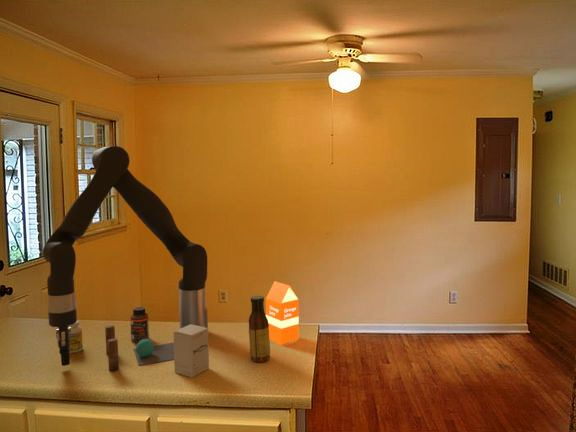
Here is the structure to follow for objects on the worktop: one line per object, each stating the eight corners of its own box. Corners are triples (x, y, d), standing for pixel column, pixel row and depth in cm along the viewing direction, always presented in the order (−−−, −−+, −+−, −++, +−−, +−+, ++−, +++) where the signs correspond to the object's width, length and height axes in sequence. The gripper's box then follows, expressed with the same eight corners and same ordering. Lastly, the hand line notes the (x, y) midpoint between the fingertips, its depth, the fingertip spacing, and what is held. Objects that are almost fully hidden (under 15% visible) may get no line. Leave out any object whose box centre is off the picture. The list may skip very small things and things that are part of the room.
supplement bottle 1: (81, 345, 155) (79, 318, 154) (84, 350, 151) (82, 322, 150) (63, 349, 152) (62, 321, 151) (66, 354, 148) (64, 325, 147)
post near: (118, 366, 138) (117, 338, 138) (119, 370, 136) (117, 341, 135) (108, 368, 137) (107, 339, 136) (109, 372, 135) (107, 342, 134)
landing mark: (176, 342, 157) (176, 341, 157) (185, 357, 145) (184, 357, 145) (133, 349, 152) (133, 348, 152) (138, 365, 139) (138, 365, 139)
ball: (131, 343, 147) (141, 356, 148) (133, 350, 141) (142, 363, 143) (147, 333, 148) (156, 346, 150) (149, 339, 143) (158, 353, 145)
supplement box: (192, 378, 131) (191, 335, 129) (173, 372, 135) (172, 330, 133) (210, 368, 137) (208, 327, 136) (191, 363, 141) (190, 323, 139)
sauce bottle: (273, 356, 145) (272, 295, 143) (265, 364, 139) (264, 300, 137) (254, 353, 147) (253, 293, 145) (246, 361, 142) (244, 298, 139)
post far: (115, 351, 150) (114, 324, 149) (116, 354, 148) (114, 327, 147) (106, 352, 149) (104, 326, 148) (106, 356, 146) (105, 328, 146)
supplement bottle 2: (132, 344, 156) (130, 311, 155) (130, 338, 162) (128, 307, 160) (150, 341, 159) (148, 309, 157) (147, 335, 164) (146, 304, 163)
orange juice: (281, 346, 154) (280, 287, 152) (265, 338, 161) (265, 282, 158) (299, 340, 159) (298, 283, 156) (283, 333, 165) (282, 279, 163)
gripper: (76, 312, 131) (79, 370, 133) (76, 300, 143) (79, 354, 145) (46, 316, 128) (50, 376, 129) (49, 303, 140) (52, 358, 141)
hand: (65, 364), depth 137 cm, fingers closed
